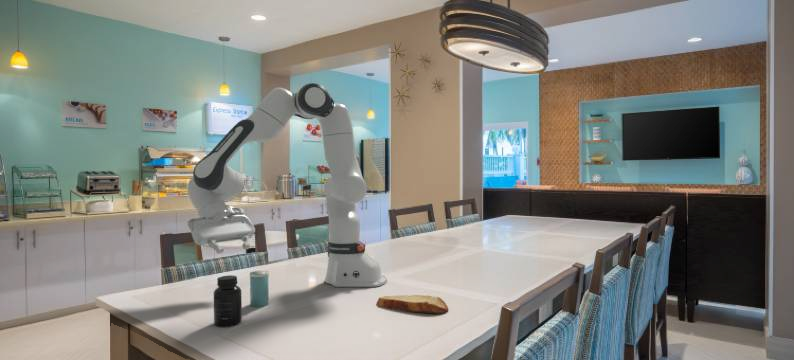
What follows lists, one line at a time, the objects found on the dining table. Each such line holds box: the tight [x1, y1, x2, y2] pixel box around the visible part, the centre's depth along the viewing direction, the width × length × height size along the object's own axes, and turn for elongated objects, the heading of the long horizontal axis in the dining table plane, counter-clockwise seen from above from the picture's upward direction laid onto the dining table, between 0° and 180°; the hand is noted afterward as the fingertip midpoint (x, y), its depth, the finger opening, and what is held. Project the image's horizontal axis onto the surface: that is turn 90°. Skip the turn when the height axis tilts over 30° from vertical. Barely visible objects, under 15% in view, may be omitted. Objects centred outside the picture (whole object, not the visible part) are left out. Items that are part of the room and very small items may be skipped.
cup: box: [249, 270, 270, 308], centre depth 135 cm, size 5×5×10 cm
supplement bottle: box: [213, 275, 243, 328], centre depth 118 cm, size 7×7×12 cm
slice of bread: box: [376, 294, 449, 315], centre depth 132 cm, size 18×18×4 cm
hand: (234, 249), depth 142 cm, fingers open, 8 cm apart
